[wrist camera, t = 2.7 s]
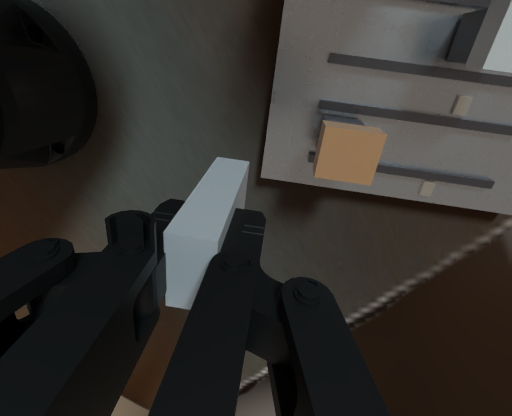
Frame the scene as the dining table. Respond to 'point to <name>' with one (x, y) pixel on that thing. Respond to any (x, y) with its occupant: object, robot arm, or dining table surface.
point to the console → (392, 100)
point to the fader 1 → (348, 150)
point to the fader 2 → (485, 38)
